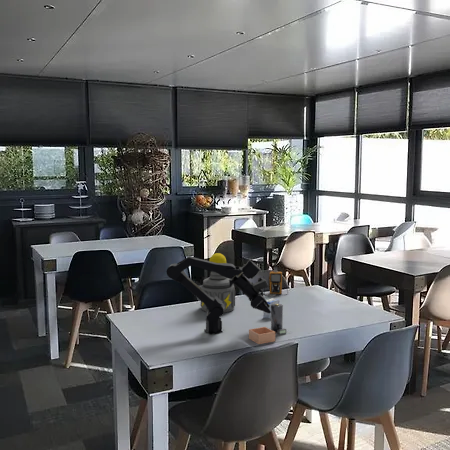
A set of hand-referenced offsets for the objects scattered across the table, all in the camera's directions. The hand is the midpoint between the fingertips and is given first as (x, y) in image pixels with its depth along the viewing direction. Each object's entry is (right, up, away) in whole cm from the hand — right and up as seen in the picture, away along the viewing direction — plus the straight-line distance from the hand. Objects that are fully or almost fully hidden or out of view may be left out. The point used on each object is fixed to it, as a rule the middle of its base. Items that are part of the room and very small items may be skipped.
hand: (269, 309), depth 222 cm
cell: (+3, -10, +1) cm, 10 cm away
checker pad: (+3, -10, +1) cm, 11 cm away
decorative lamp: (-24, -7, +41) cm, 48 cm away
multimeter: (+10, -4, +71) cm, 72 cm away
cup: (-4, -12, -11) cm, 16 cm away
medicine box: (+3, -8, +25) cm, 27 cm away
